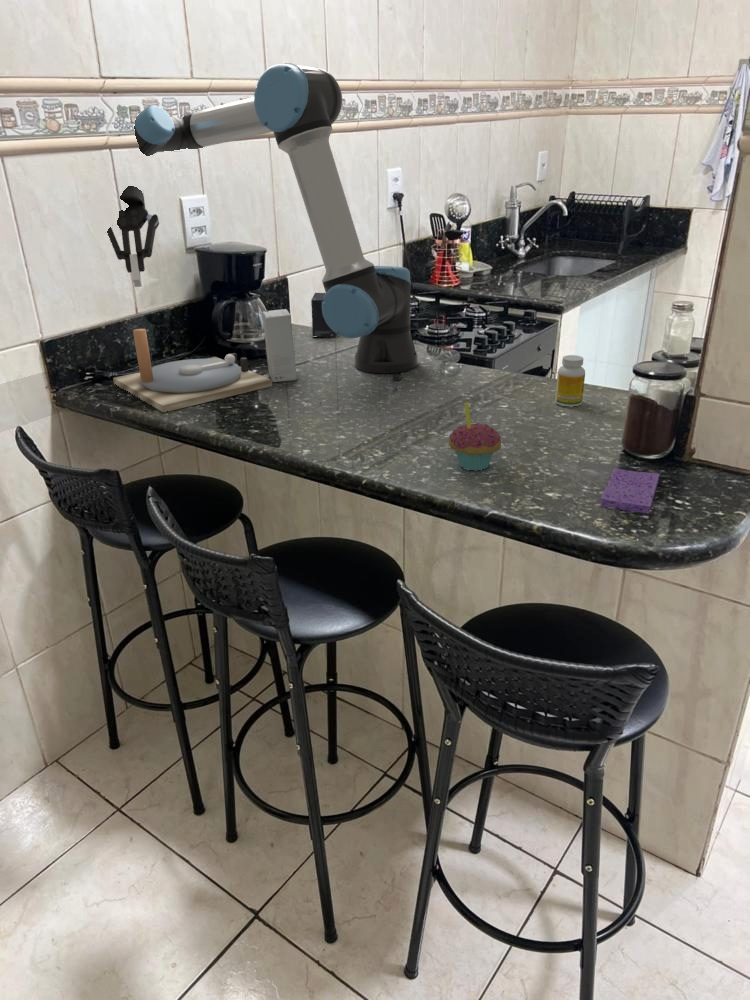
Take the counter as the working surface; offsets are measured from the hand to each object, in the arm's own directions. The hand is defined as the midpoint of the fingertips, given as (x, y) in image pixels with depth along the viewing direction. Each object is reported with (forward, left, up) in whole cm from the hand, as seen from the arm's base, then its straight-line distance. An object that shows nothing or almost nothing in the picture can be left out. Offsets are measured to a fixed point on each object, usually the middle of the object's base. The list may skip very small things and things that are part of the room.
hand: (137, 283), depth 162 cm
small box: (+8, -55, -22) cm, 60 cm away
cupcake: (-84, -19, -22) cm, 89 cm away
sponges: (-108, -29, -22) cm, 114 cm away
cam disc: (-11, -5, -20) cm, 23 cm away
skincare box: (-19, -23, -22) cm, 37 cm away
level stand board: (-11, -5, -22) cm, 25 cm away
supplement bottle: (-75, -56, -22) cm, 97 cm away
